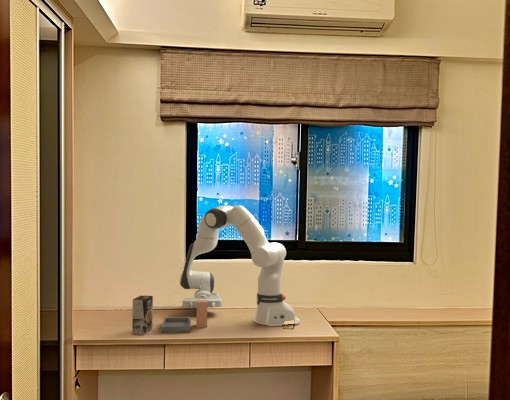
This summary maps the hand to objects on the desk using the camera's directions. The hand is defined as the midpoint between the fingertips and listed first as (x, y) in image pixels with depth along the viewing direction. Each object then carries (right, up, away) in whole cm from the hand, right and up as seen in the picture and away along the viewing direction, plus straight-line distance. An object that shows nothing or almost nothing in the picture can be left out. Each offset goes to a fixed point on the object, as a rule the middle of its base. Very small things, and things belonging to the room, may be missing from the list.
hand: (202, 306), depth 263 cm
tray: (-11, -7, -16) cm, 20 cm away
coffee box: (-25, -7, -23) cm, 35 cm away
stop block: (+1, -7, -12) cm, 14 cm away
